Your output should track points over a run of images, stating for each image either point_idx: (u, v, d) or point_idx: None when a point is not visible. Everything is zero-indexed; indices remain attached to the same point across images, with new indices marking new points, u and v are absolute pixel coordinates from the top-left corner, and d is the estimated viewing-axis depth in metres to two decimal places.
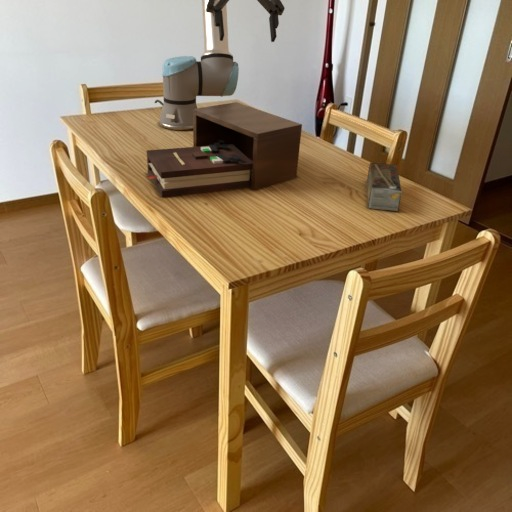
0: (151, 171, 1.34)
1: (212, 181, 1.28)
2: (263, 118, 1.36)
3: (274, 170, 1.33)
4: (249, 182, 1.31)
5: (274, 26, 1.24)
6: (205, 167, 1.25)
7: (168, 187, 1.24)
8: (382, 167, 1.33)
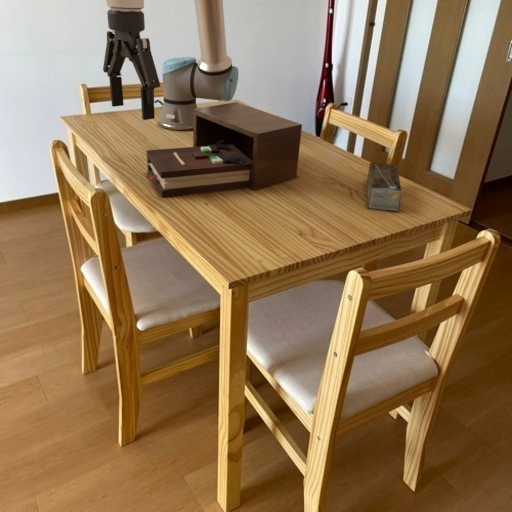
0: (151, 171, 1.34)
1: (212, 181, 1.28)
2: (263, 118, 1.36)
3: (274, 170, 1.33)
4: (249, 182, 1.31)
5: (142, 107, 1.05)
6: (205, 167, 1.25)
7: (168, 187, 1.24)
8: (382, 167, 1.33)
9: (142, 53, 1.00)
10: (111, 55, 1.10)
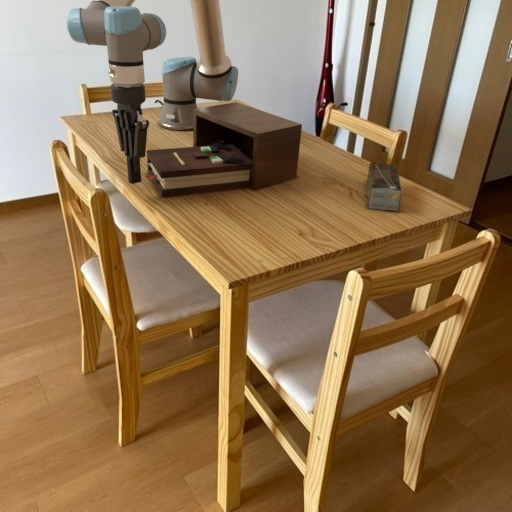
0: (151, 171, 1.33)
1: (212, 181, 1.28)
2: (263, 118, 1.36)
3: (274, 170, 1.33)
4: (249, 182, 1.31)
5: (130, 173, 1.18)
6: (205, 167, 1.25)
7: (168, 187, 1.24)
8: (382, 167, 1.33)
9: (138, 133, 1.10)
10: (122, 131, 1.16)
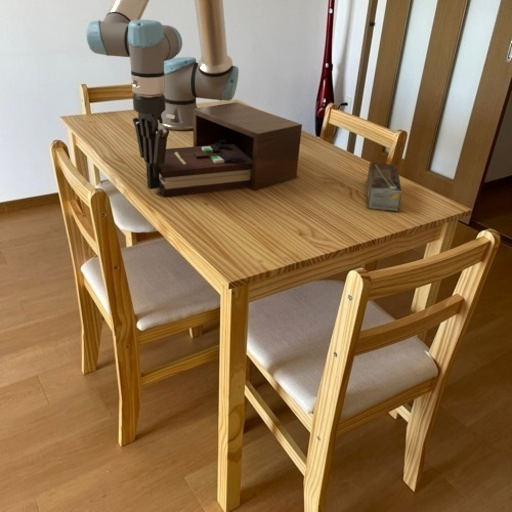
0: None
1: (213, 181, 1.28)
2: (263, 118, 1.36)
3: (274, 170, 1.33)
4: (250, 182, 1.32)
5: (149, 179, 1.23)
6: (207, 166, 1.25)
7: (169, 187, 1.24)
8: (382, 167, 1.33)
9: (159, 141, 1.14)
10: (142, 138, 1.21)
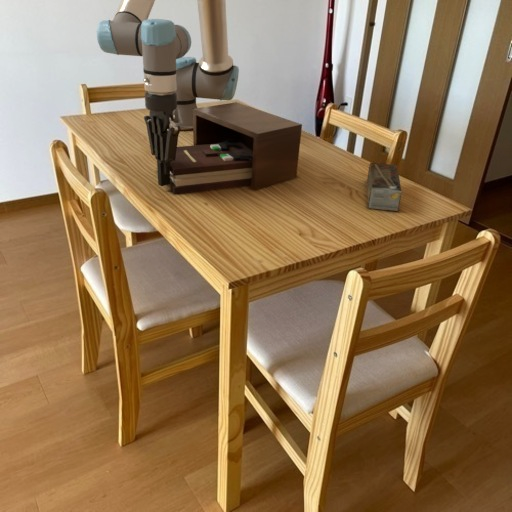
0: None
1: (223, 178, 1.30)
2: (263, 118, 1.36)
3: (274, 170, 1.33)
4: None
5: (160, 176, 1.24)
6: (216, 164, 1.27)
7: (180, 184, 1.26)
8: (382, 167, 1.33)
9: (170, 138, 1.16)
10: (153, 136, 1.23)
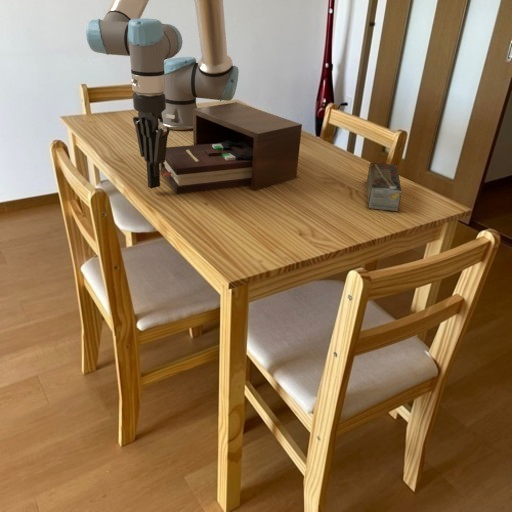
0: (164, 168, 1.36)
1: (225, 177, 1.31)
2: (263, 118, 1.36)
3: (274, 170, 1.33)
4: None
5: (149, 178, 1.22)
6: (219, 163, 1.27)
7: (183, 183, 1.26)
8: (382, 167, 1.33)
9: (159, 140, 1.14)
10: (142, 137, 1.21)
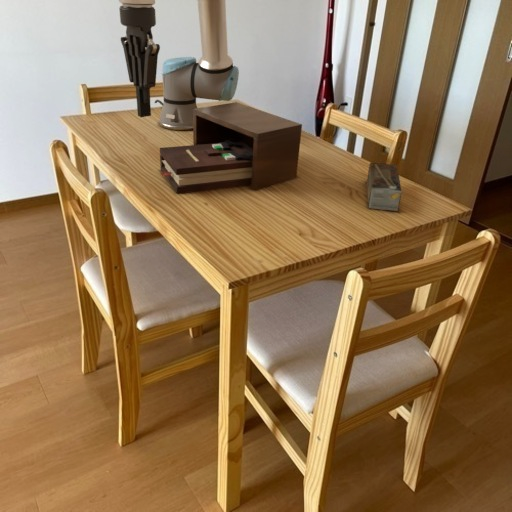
0: (164, 168, 1.36)
1: (225, 177, 1.30)
2: (263, 118, 1.36)
3: (274, 170, 1.33)
4: None
5: (139, 105, 1.13)
6: (219, 163, 1.27)
7: (183, 183, 1.26)
8: (382, 167, 1.33)
9: (149, 58, 1.05)
10: (131, 60, 1.11)
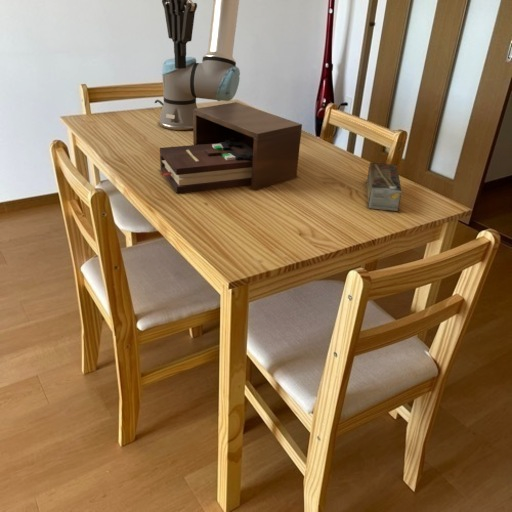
0: (164, 168, 1.36)
1: (225, 177, 1.30)
2: (263, 118, 1.36)
3: (274, 170, 1.33)
4: None
5: (177, 58, 1.33)
6: (219, 163, 1.27)
7: (183, 183, 1.26)
8: (382, 167, 1.33)
9: (187, 15, 1.24)
10: (171, 19, 1.31)
